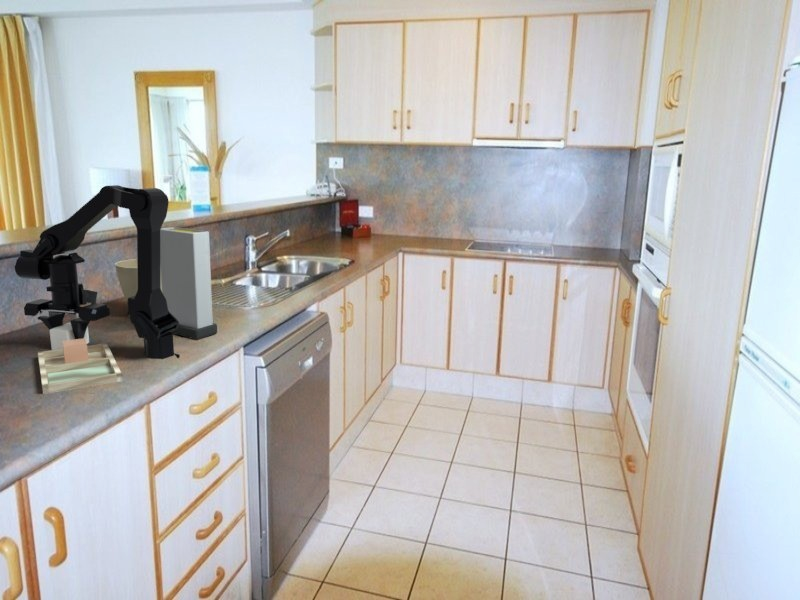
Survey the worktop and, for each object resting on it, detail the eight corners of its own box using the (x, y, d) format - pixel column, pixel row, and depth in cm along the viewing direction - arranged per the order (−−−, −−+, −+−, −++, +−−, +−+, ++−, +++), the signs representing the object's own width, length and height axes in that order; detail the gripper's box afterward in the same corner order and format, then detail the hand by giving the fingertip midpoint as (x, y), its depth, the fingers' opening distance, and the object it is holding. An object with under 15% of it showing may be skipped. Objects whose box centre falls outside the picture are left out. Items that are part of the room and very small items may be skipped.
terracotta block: (88, 362, 125) (86, 343, 124) (65, 366, 123) (63, 346, 122) (86, 356, 129) (84, 338, 128) (63, 359, 126) (61, 340, 125)
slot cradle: (122, 385, 116) (121, 374, 116) (43, 398, 108) (42, 386, 108) (107, 353, 135) (106, 343, 134) (38, 362, 127) (37, 351, 126)
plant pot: (107, 317, 163) (102, 264, 160) (144, 306, 177) (140, 257, 173) (149, 323, 159) (145, 269, 155) (183, 311, 173) (181, 261, 169)
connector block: (89, 346, 139) (87, 323, 137) (69, 355, 132) (66, 331, 131) (73, 344, 139) (70, 321, 138) (52, 353, 133) (49, 329, 131)
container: (182, 333, 160) (164, 228, 155) (229, 333, 151) (211, 222, 146) (161, 339, 153) (140, 230, 149) (208, 340, 144) (188, 224, 140)
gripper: (121, 277, 138) (126, 337, 142) (54, 272, 141) (60, 331, 144) (90, 286, 127) (97, 351, 131) (18, 280, 130) (26, 344, 134)
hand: (70, 343), depth 135 cm, fingers closed on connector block, 4 cm apart
